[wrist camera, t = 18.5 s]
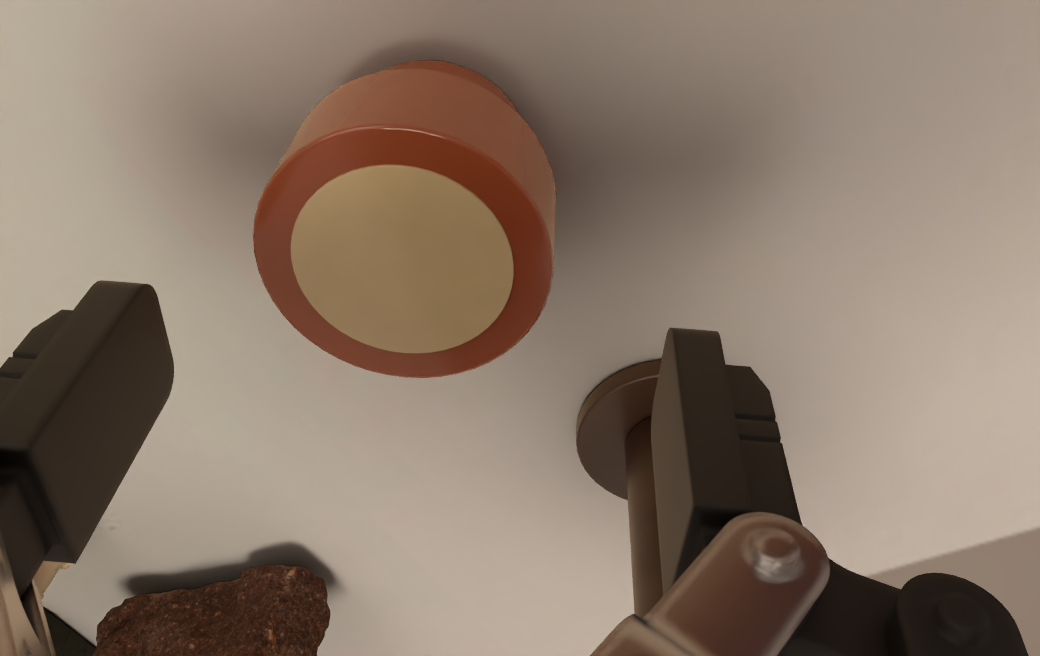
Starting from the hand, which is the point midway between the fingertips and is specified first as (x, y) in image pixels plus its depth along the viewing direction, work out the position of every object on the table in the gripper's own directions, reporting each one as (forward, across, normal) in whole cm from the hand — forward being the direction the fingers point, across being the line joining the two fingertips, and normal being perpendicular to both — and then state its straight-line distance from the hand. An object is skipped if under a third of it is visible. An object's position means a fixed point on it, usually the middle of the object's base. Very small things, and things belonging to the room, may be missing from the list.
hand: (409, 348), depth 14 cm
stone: (+7, +8, +16) cm, 19 cm away
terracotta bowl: (+7, +1, 0) cm, 7 cm away
